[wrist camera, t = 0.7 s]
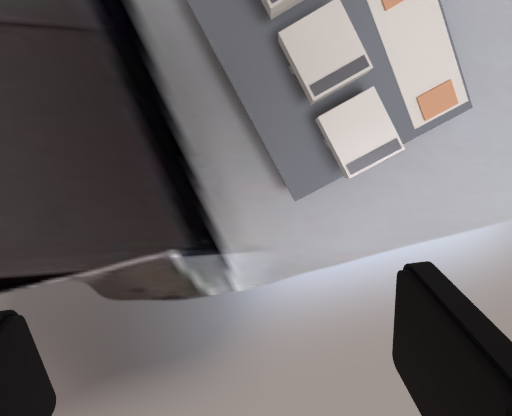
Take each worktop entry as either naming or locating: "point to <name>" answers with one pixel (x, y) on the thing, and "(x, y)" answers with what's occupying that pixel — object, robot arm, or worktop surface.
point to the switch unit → (380, 76)
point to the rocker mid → (324, 51)
